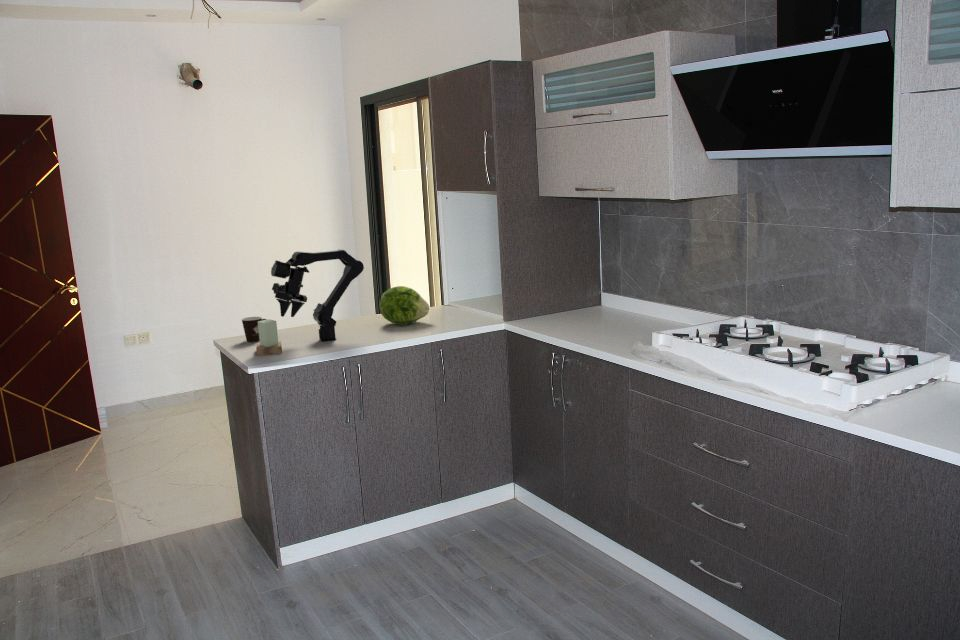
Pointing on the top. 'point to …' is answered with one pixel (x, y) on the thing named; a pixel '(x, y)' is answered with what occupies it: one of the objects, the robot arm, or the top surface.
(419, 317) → the lettuce
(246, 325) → the coffee mug
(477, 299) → the top surface
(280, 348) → the walnut block
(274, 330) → the tea tin
